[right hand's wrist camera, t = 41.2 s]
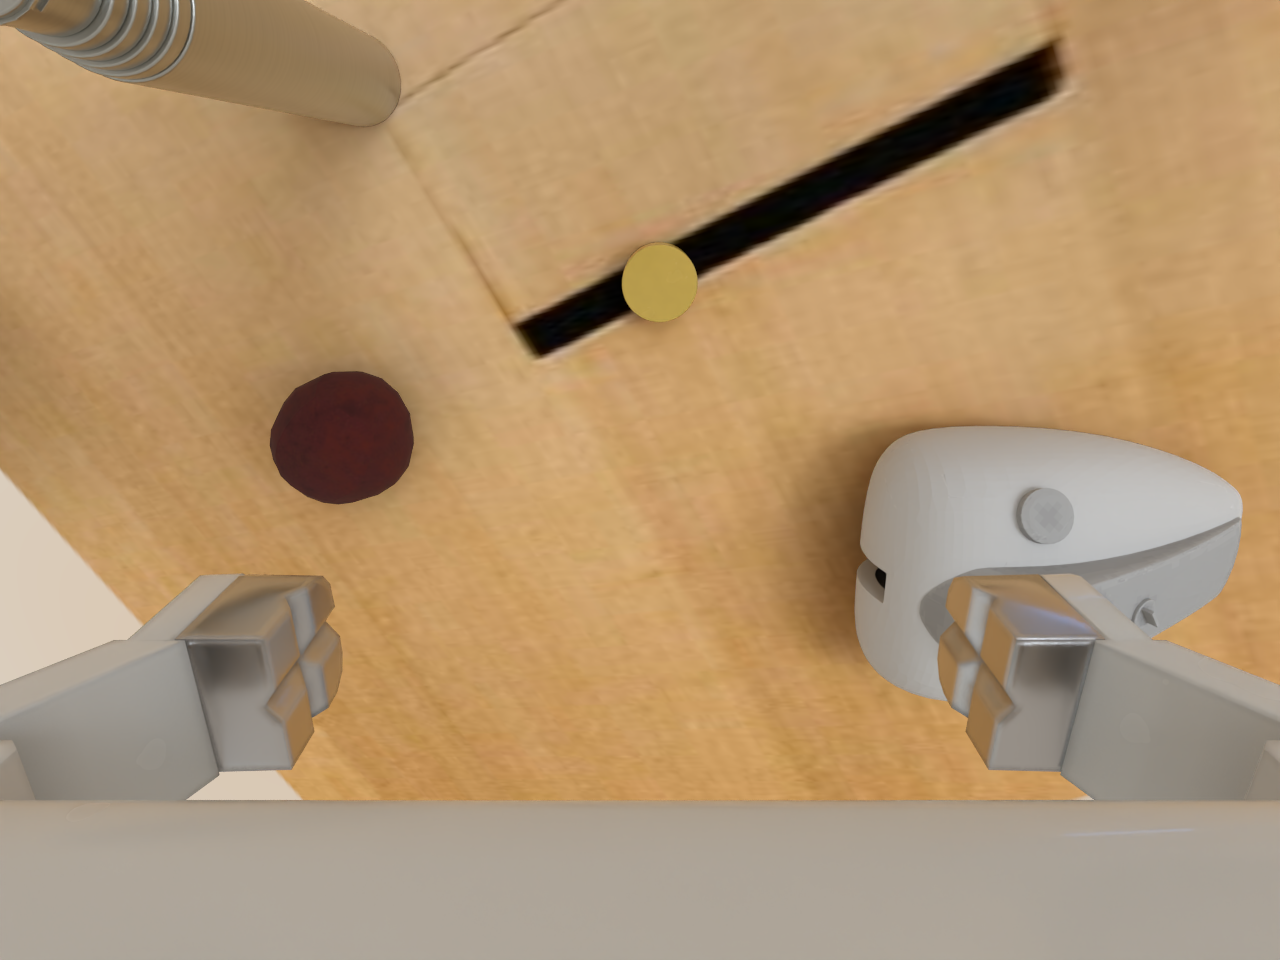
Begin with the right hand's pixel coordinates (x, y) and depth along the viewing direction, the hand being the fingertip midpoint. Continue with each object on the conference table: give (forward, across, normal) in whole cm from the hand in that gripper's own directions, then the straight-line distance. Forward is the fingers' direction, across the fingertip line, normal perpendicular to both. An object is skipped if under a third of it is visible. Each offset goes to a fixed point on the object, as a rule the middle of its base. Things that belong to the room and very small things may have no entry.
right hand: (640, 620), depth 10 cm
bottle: (+36, +15, -10) cm, 40 cm away
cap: (+34, -1, 0) cm, 34 cm away
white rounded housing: (+36, -25, +15) cm, 46 cm away
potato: (+36, +17, +8) cm, 40 cm away
